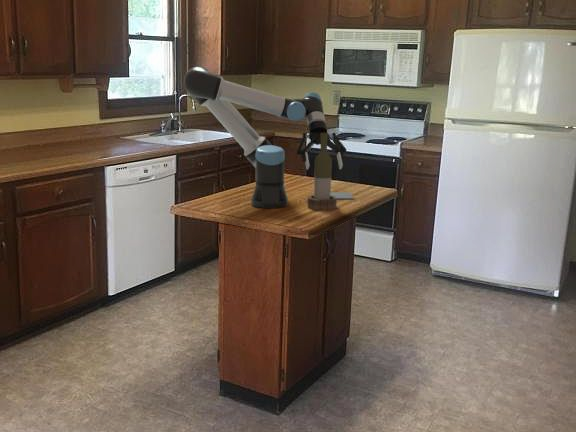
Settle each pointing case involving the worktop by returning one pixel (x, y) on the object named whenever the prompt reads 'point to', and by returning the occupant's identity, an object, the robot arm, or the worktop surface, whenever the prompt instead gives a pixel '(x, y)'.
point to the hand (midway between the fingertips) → (324, 167)
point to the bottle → (322, 171)
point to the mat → (342, 195)
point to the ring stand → (322, 203)
